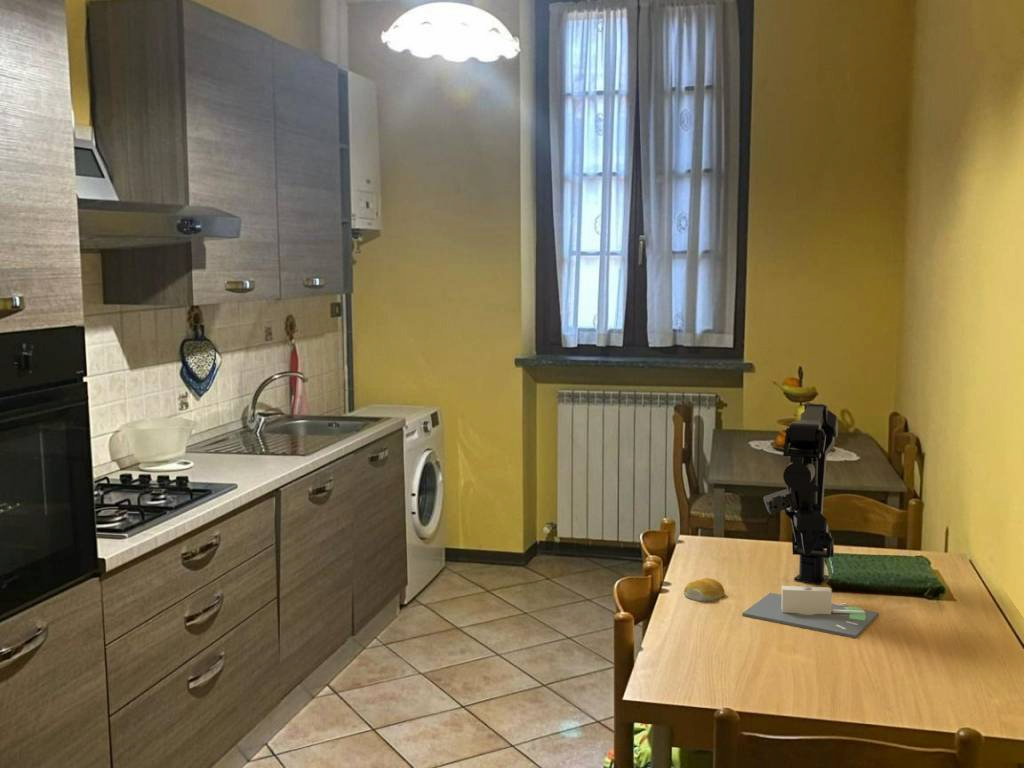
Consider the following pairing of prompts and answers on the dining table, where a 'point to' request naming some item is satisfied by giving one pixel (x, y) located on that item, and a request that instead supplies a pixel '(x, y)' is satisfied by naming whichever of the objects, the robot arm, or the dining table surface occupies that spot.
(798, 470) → the robot arm
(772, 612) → the grey board
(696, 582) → the bread roll
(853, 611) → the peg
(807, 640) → the dining table surface
